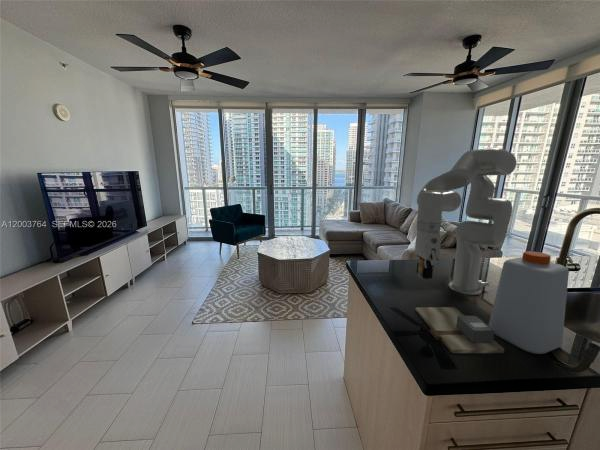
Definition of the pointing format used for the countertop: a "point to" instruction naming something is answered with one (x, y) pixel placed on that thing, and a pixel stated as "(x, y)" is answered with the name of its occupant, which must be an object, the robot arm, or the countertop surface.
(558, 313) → the plastic bottle
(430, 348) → the countertop surface
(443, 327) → the board
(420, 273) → the orange brown cylinder
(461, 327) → the block
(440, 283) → the countertop surface
